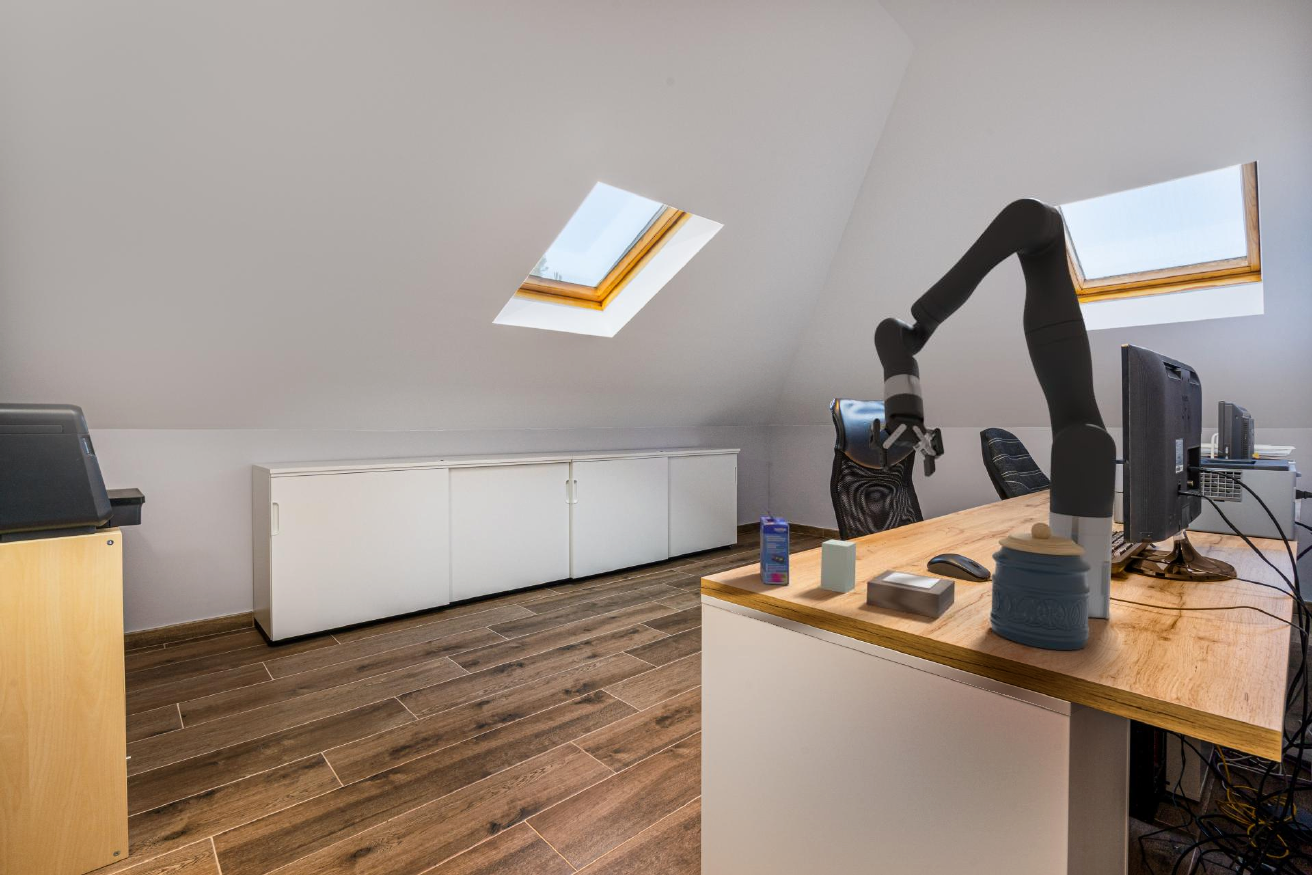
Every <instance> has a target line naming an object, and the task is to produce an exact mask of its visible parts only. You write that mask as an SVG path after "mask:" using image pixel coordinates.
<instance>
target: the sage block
mask: <svg viewBox="0 0 1312 875" xmlns="http://www.w3.org/2000/svg"><path fill="white" fill-rule="evenodd" d="M856 558H857V542H853V541H852V542H851V541H845V540H838V539H829V540H826V541H824V542H821V559H820V560H821V562H820V563H821V565H820V589H822V590H827V591H831V592H832V591H833V592H837V593H843V594H847V593H849V592H850V591H852V590H854V589H855V588H856V565H857V564H856V563H857V562H856V560H857V559H856Z"/></svg>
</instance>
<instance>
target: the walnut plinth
mask: <svg viewBox="0 0 1312 875" xmlns="http://www.w3.org/2000/svg"><path fill="white" fill-rule="evenodd" d="M866 585H867V586H866V605H869V606H875V607H880V608H884V609H885V608H886V609H890V610H895V611H900V612H906V613H910V614H915V615H920V616H924V617H925V616H926V617H930V618H935V619H940V618H941V616H943V614H944V613H945V612H946V611H948V609H950V607H952V605H953V604H954V603H955V592H956V591H955V587H956V580H951V579H944V578H939V577H932V576H927V575H926V576H925V575H921V574H920V575H919V574H914V573H907V572H902V571H895V570H890V569H888V570H886V571H884V572H882V573H880V574H879V575H876V576H875V577H873V578H872V579H869V580H868V581H867V582H866Z"/></svg>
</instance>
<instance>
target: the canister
mask: <svg viewBox="0 0 1312 875" xmlns="http://www.w3.org/2000/svg"><path fill="white" fill-rule="evenodd" d="M1030 532H1031V533H1028V532H1013V533H1010V534H1008V535H1007V536H1006V537H1003V538H1000V539H999V540H998V544H999V545H1000V546H1001V547H1000V549H999V550H998V551H995V552H993V553H992V555H991V557H992V559H993V560H994V562H995V568H994V572H993V573H992V574H991V576H990V577H991V578H990V579H991V580H992V581H991V582H992V583H991V584H992V586H991V587H992V591H991V610H990V612H989V616H990V617H989V621H990V623H991V624H990V626H991V630H992V631H993V632H994V633H996V634H997V635H998V636H1001V637H1002V638H1005V639H1007V640H1010V641H1013V642H1014V643H1015V642H1016V643H1019V644H1023V645H1026V646H1030V647H1035V648H1042V649H1047V650H1057V651H1074V650H1080V649H1084V648H1085V647H1087V644H1088V640H1089V639H1090V638H1089V637H1090V628H1089V617H1088V613H1089V593H1090V592H1091V588H1090V587H1089V586H1088V585H1087V573H1088V572H1089V571H1090V570H1091V569H1092V567H1091V565H1090V564H1089V563H1087V562H1086V561H1084V560H1083V558H1082V556H1081V554H1084V553H1085V549H1084V548H1082V547H1080V546H1079V545H1077V544H1076V543H1075V542H1074V541H1073V540H1071V539H1068V538H1064V537H1059V536H1052V535H1051V529H1050V527H1049V524H1047V523H1044V522H1036V523H1034V524H1033V525H1032V527H1031V529H1030Z"/></svg>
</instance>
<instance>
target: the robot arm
mask: <svg viewBox="0 0 1312 875" xmlns="http://www.w3.org/2000/svg"><path fill="white" fill-rule="evenodd" d="M1064 226H1065V225H1064V219H1063V217H1062V215H1061V213H1060V212H1059V210H1058V209H1057V208H1056V207H1054V206H1053V205H1051V204H1050V203H1046V202H1044V201H1042V200H1039V199H1037V198H1031V197H1023V198H1019V199H1016V200H1013V201H1012V202H1010V203H1008V204H1007V205H1006V206H1005V207H1004V208H1003V209H1002V210H1001V211H1000V212H999V213H998V214H997V216H996V217H995V218H994V219H993V220H992V221H991V223H990V224H989V225H987V228H986V229H985V230H984V231H983V232H982V234H980V236H979V237H978V238H977V239H976V240H975V242H974V243H973V244H972V245H971V246H970V247H969V248H968V250H967V251H966V252H965V254H963V255H962V257H960V258H959V259H958V261H957V262H956V263H955V264H954V265H953V266H952V267H951V268H950V269H949V270H948V271H947V272H946V273H945V274H944V275H943V276H941V277H940V279H939V280H938V281H937V282H936V283H934V284H933V285H931V287H930V288H929V289H928V290H927V291H925V292H924V293H923V294H922V295H921V296H920V297H919V298H918V299H917V300H915V302H914V303H913V304H912V305H911V307H910V312H911V316H912V318H913V319H914V320H915V323H914V324H912V325H911V324H909V323H907V322H905V321H903V320H901V319H899V318H896V317H887V318H884V319H883V320H881V321H880V322H879V324H878V325H877V326H876V328H875V330H874V336H873V338H874V340H873V342H874V346H875V350H876V352H877V353H876V354H877V356H878V359H879V361H880V364H881V366H882V369H883V383H884V384H883V385H884V386H883V398H882V400H883V409H884V412H883V413H884V422H883V421H881V420H880V419H879V418H877V417H876V418H875V419H874V420H873V421H871V423H870V424H869V435H868V436H869V437H868V438H869V439H868V440H869V441H868V442H869V443H868V447H869V449H870V450H876V451H877V452H878V454H879V457H878V458H879V460H878V461H879V465H880V467H881V468H882V470H883V471H888V470H889V469H890V468H891V450H890V449H889V448H890V446H892V444H895V445H896V446H899V447H906V448H910V449H911V448H913V449H914V450H915V451H916V453H919V454H920V455H921V456H922V458H923V470H924V473H923V474H924V477H927V478H930V477H931V476H933V474H934V473H935V472H936V470H937V468H936V460H938V459H939V458H940V457H941V456H943V455H944V454H945V449H944V442H943V435H942V431H941V428H939V427H935V429H930V428H927V427H926V426H925V411H924V401H923V399H924V398H923V390H922V385H921V381H920V370H919V369H920V368H919V367H920V366H919V363H918V361H917V359H916V358H915V357H914V356H916V355H917V354H919V353H920V352H921V351H922V349H923V348H924V347H925V345H926V344H927V342H928V341H929V339H930V338H931V337H932V336H933V334H934V333H935V332H936V330H937V329H938V327H939V326H940V325H941V324H943V322H945V321H946V320H947V319H948V318H950V317H951V316H952V315H954V313H956V312H957V311H958V310H959V309H960V308H961V307H962V306H964V304H965V303H966V302H967V301H968V299H970V297H971V296H972V295H973V294H974V292H975V290H976V289H977V287H978V286H979V285H980V283H981V282H982V281H983V279H984V278H985V277H986V276H988V274H989V273H990V272H991V271H992V270H993V269H995V268H996V267H997V266H998V265H1000V263H1002V262H1004V261H1005V260H1006V259H1008V258H1009V257H1011V256H1013V255H1014V254H1015V253H1016V255H1017V258H1018V259H1019V263H1020V266H1021V269H1022V274H1023V276H1024V281H1025V282H1024V283H1025V299H1024V306H1023V316H1022V320H1023V321H1022V324H1023V325H1022V326H1023V332H1024V337H1025V338H1024V339H1025V342H1026V346H1027V351H1028V354H1029V358H1030V360H1031V365H1032V367H1033V370H1034V373H1035V376H1036V378H1037V381H1038V383H1039V385H1040V387H1041V390H1042V392H1043V394H1044V397H1045V400H1046V403H1047V408H1048V413H1049V420H1050V427H1051V439H1052V444H1051V446H1050V447H1051V449H1050V450H1051V451H1050V471H1049V473H1050V475H1049V476H1050V477H1049V478H1050V479H1049V511H1048V514H1049V515H1048V519H1049V520H1048V526H1049V527H1050V529H1051V535H1052V536H1059V537H1064V538H1068V539H1071V540H1073V541H1074V542H1075V543H1076V544H1077V545H1079V546H1080V547H1082V548H1084V549H1085V553H1084V554H1081V556H1082V558H1083V560H1084V561H1086V562H1087V563H1089V564H1090V565H1091V567H1092V569H1091V570H1090V571H1089V572H1088V573H1087V585H1088V586H1089V587H1090V588H1091V592H1090V593H1089V613H1088V618H1101V619H1110V606H1111V605H1110V602H1111V579H1112V578H1111V576H1112V574H1111V573H1112V544H1113V543H1112V542H1113V540H1112V539H1113V520H1114V519H1113V515H1114V506H1115V505H1114V503H1115V495H1116V487H1115V486H1116V475H1117V474H1116V473H1117V472H1116V471H1117V470H1116V469H1117V446H1116V442H1115V440H1114V438H1113V437H1112V435H1111V434H1110V433H1109V432H1108V430H1107V427H1106V425H1105V424H1104V423H1105V422H1104V420H1103V418H1102V414H1101V412H1100V408H1099V406H1098V404H1097V400H1096V394H1095V390H1094V388H1095V387H1094V376H1093V375H1094V372H1093V371H1094V370H1093V361H1092V360H1093V359H1092V352H1091V346H1090V340H1089V336H1088V331H1087V328H1086V323H1085V319H1084V316H1083V313H1082V310H1081V306H1080V302H1079V299H1078V298H1079V297H1078V294H1077V290H1076V288H1075V284H1074V281H1073V278H1072V275H1071V271H1070V267H1069V261H1068V253H1067V244H1066V235H1065V227H1064ZM883 430H884V432H885V433H886V435H887V436H888V438H887V439H886V440H885V441H884V442H882V441H881V432H882V431H883ZM920 443H921V444H920Z"/></svg>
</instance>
